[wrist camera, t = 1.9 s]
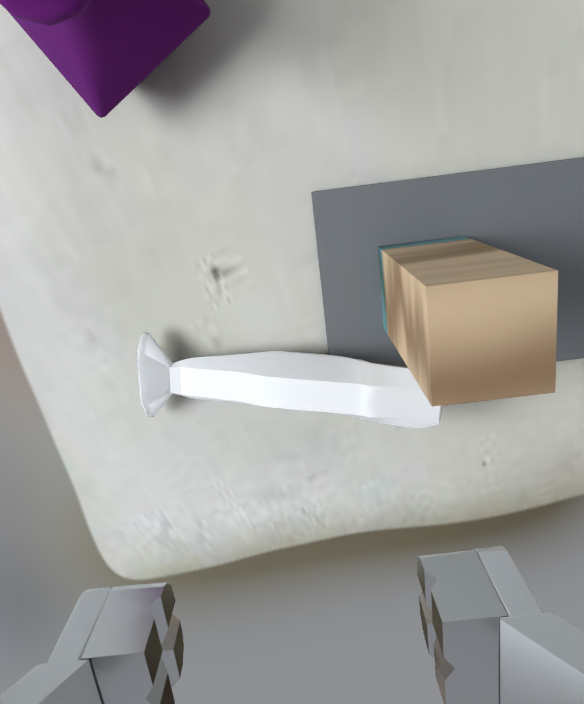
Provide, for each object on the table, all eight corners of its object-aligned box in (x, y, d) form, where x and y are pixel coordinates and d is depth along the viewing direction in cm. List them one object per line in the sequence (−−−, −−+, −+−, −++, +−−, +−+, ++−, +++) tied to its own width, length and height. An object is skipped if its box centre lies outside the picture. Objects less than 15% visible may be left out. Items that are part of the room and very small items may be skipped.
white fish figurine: (429, 420, 35) (438, 450, 32) (153, 402, 37) (131, 429, 33) (438, 338, 34) (449, 359, 30) (148, 323, 35) (124, 342, 31)
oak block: (377, 246, 33) (426, 286, 21) (463, 235, 32) (558, 270, 21) (383, 328, 34) (431, 406, 23) (465, 318, 34) (555, 392, 23)
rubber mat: (311, 191, 32) (311, 192, 32) (699, 142, 31) (704, 142, 31) (332, 385, 36) (332, 387, 35) (679, 344, 35) (683, 346, 35)
